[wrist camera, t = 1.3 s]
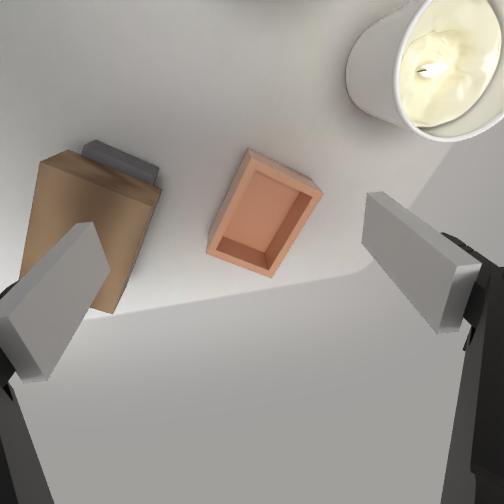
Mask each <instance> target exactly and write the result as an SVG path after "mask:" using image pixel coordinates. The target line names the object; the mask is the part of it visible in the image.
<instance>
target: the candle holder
mask: <svg viewBox="0 0 504 504" xmlns="http://www.w3.org/2000/svg"><path fill="white" fill-rule="evenodd" d="M346 86H347V90H348V93H349V95H350V98H351V99H352V101H353V102H354V104H355V105H356V106H357V107H358V108H359V109H361V110H362V111H364V112H365V113H367V114H369V115H372V116H374V117H376V118H379V119H381V120H384V121H386V122H388V123H391V124H393V125H396V126H398V127H401V128H403V129H406V130H408V131H411V132H413V133H416V134H417V135H419V136H421V137H423V138H425V139H428V140H431V141H435V142H457V141H461V140H465V139H468V138H471V137H474V136H476V135H478V134H480V133H482V132H484V131H486V130H488V129H489V128H491V127H492V126H494V125H495V124H496V123H498V122H499V121H500V120H501V119H503V118H504V0H413V1H411V2H409V3H408V4H406V5H404V6H402V7H401V8H399V9H397V10H395V11H394V12H392V13H390V14H388V15H387V16H385V17H383V18H381V19H380V20H378V21H377V22H375V23H374V24H372V25H371V26H370V27H369V28H367V29H366V30H365V31H364V32H363V33H362V35H361V36H360V37H359V38H358V40H357V41H356V43H355V44H354V46H353V48H352V50H351V53H350V55H349V58H348V62H347V66H346Z"/></svg>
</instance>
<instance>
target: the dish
mask: <svg viewBox="0 0 504 504" xmlns="http://www.w3.org/2000/svg"><path fill="white" fill-rule="evenodd" d="M323 194H324V193H323V192H322V191H321V190H320V188H319V187H318V186H317V185H316V184H315V183H314V182H313V180H312V179H310V178H308V177H306V176H304V175H302V174H300V173H298V172H296V171H294V170H292V169H290V168H288V167H286V166H284V165H282V164H280V163H278V162H276V161H274V160H272V159H270V158H268V157H266V156H264V155H262V154H260V153H258V152H256V151H254V150H252V149H250V148H248V149H247V151H246V153H245V155H244V158H243V160H242V162H241V164H240V166H239V168H238V170H237V173H236V175H235V177H234V179H233V181H232V183H231V185H230V188H229V190H228V192H227V194H226V196H225V198H224V200H223V203H222V205H221V207H220V209H219V211H218V213H217V215H216V218H215V220H214V222H213V224H212V226H211V228H210V230H209V233H208V239H207V248H206V254H209V255H212V256H214V257H217V258H219V259H222V260H225V261H227V262H230V263H233V264H235V265H238V266H241V267H243V268H246V269H248V270H251V271H254V272H256V273H259V274H262V275H264V276H267V277H269V278H272V277H273V276H274V274H275V272H276V271H277V269H278V267H279V266H280V264H281V262H282V261H283V259H284V258H285V256H286V254H287V253H288V251H289V249H290V248H291V246H292V244H293V243H294V241H295V240H296V238H297V236H298V235H299V233H300V231H301V230H302V228H303V226H304V225H305V223H306V221H307V220H308V218H309V217H310V215H311V213H312V212H313V210H314V208H315V207H316V205H317V203H318V202H319V200H320V199H321V197H322V195H323Z"/></svg>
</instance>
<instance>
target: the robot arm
mask: <svg viewBox="0 0 504 504" xmlns="http://www.w3.org/2000/svg"><path fill="white" fill-rule="evenodd" d="M362 244H363V246H364V247H365V248H366V249H367V250H368V252H369V253H370V254H371V255H372V256H373V258H374V259H375V260H376V261H377V262H378V264H379V265H380V266H381V267H382V268H383V270H384V271H385V272H386V273H387V275H388V276H389V277H390V278H391V279H392V280H393V282H394V283H395V284H396V285H397V287H398V288H399V289H400V290H401V291H402V292H403V294H404V295H405V296H406V297H407V299H408V300H409V301H410V302H411V303H412V305H413V306H414V307H415V308H416V309H417V311H418V312H419V313H420V314H421V316H422V317H423V318H424V319H425V320H426V322H427V323H428V324H429V325H430V326H431V328H432V329H433V330H434V331H435V332H436V334H441V333H449V332H458V331H459V329H460V326H461V323H462V320H463V317H464V318H465V319H466V320H467V321H468V322H469V323H470V324H471V325H472V326H471V329H470V331H469V334H468V337H467V340H466V342H465V345H464V348H463V350H464V351H466V352H465V358H464V365H463V370H462V377H461V383H460V389H459V395H458V401H457V407H456V413H455V419H454V425H453V431H452V437H451V443H450V449H449V455H448V462H447V467H446V473H445V480H444V486H443V492H442V498H441V504H504V267H498V266H497V265H495V264H494V263H492V262H491V261H489V260H488V259H487V258H485V257H483V256H482V255H481V254H479V253H478V252H476V251H474V249H472V248H471V247H469V246H466V244H465V243H463V242H462V241H461V240H459V239H458V238H456V237H453V236H451V235H448V234H446V233H443V232H442V233H439V232H438V231H437V230H435V229H434V228H432V227H431V226H430V225H428V224H427V223H425V222H424V221H423V220H421V219H420V218H419V217H417V216H416V215H414V214H413V213H412V212H410V211H409V210H408V209H406V208H405V207H403V206H402V205H401V204H399V203H398V202H396V201H395V200H394V199H392V198H391V197H390V196H388V195H387V194H385V193H384V192H373V193H367V199H366V208H365V217H364V226H363V235H362ZM110 271H111V270H110V267H109V264H108V262H107V259H106V256H105V254H104V251H103V248H102V245H101V243H100V240H99V237H98V234H97V232H96V229H95V226H94V223H93V222H85V223H76V224H75V225H74V226H73V227H72V228H71V229H70V230H69V231H68V232H67V233H66V234H65V235H64V236H63V237H62V238H61V239H60V240H59V241H58V242H57V243H56V244H55V245H54V246H53V247H52V248H51V249H50V250H49V251H48V252H47V253H46V254H45V255H44V256H43V257H42V258H41V259H40V260H39V261H38V262H37V263H36V264H35V265H34V266H33V267H32V268H31V269H30V270H29V271H28V272H27V273H26V274H25V275H24V276H23V278H22V279H20V280H18V281H17V282H15V283H14V284H12V285H10V286H9V287H7V288H6V289H5V290H4V291H3V292H2V293H1V294H0V504H54V501H53V499H52V496H51V493H50V490H49V487H48V485H47V482H46V479H45V476H44V473H43V471H42V468H41V465H40V462H39V459H38V457H37V454H36V451H35V448H34V446H33V443H32V440H31V437H30V434H29V432H28V429H27V426H26V423H25V420H24V418H23V415H22V412H21V409H20V406H19V404H18V401H17V398H16V395H15V393H14V390H13V388H12V386H11V385H10V384H9V382H8V381H9V379H10V378H11V376H12V375H13V374H14V372H15V371H16V373H17V374H18V376H19V377H20V379H21V380H22V382H23V383H30V382H39V381H47V380H48V379H49V377H50V375H51V373H52V372H53V370H54V368H55V366H56V365H57V363H58V361H59V359H60V358H61V356H62V354H63V353H64V351H65V349H66V347H67V346H68V344H69V342H70V340H71V339H72V337H73V335H74V333H75V332H76V330H77V328H78V327H79V325H80V323H81V321H82V320H83V318H84V316H85V314H86V313H87V311H88V309H89V307H90V306H91V304H92V302H93V300H94V299H95V297H96V295H97V294H98V292H99V290H100V288H101V287H102V285H103V283H104V281H105V280H106V278H107V276H108V274H109V273H110Z"/></svg>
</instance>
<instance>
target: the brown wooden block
mask: <svg viewBox="0 0 504 504" xmlns="http://www.w3.org/2000/svg"><path fill="white" fill-rule="evenodd" d="M161 191H162V189H160V188H158V187H155V186H153V185H151V184H148V183H146V182H144V181H141V180H139V179H136V178H134V177H132V176H129V175H127V174H125V173H122V172H120V171H118V170H115V169H113V168H110V167H108V166H106V165H103V164H101V163H99V162H96V161H94V160H92V159H89V158H87V157H84V156H82V155H80V154H77V153H75V152H73V151H70V150H66V151H64V152H61V153H59V154H57V155H55V156H52V157H50V158H48V159H45V160H43V161H41V162H40V165H39V170H38V176H37V181H36V187H35V193H34V198H33V204H32V209H31V215H30V220H29V226H28V231H27V237H26V242H25V248H24V254H23V259H22V265H21V270H20V276H19V280H20V279H22V278H23V276H24V275H25V274H26V273H27V272H28V271H29V270H30V269H31V268H32V267H33V266H34V265H35V264H36V263H37V262H38V261H39V260H40V259H41V258H42V257H43V256H44V255H45V254H46V253H47V252H48V251H49V250H50V249H51V248H52V247H53V246H54V245H55V244H56V243H57V242H58V241H59V240H60V239H61V238H62V237H63V236H64V235H65V234H66V233H67V232H68V231H69V230H70V229H71V228H72V227H73V226H74V225H75V224H76V223H85V222H93V223H94V226H95V229H96V232H97V234H98V237H99V240H100V243H101V245H102V248H103V251H104V254H105V256H106V259H107V262H108V264H109V267H110V270H111V271H110V273H109V274H108V276H107V278H106V280H105V281H104V283H103V285H102V287H101V288H100V290H99V292H98V294H97V295H96V297H95V299H94V300H93V302H92V304H91V306H90V308H93V309H97V310H100V311H103V312H107V313H110V314H113V313H114V311H115V309H116V307H117V305H118V303H119V300H120V298H121V296H122V294H123V292H124V290H125V288H126V286H127V283H128V280H129V278H130V275H131V272H132V270H133V267H134V264H135V261H136V259H137V256H138V253H139V251H140V248H141V245H142V242H143V240H144V237H145V234H146V232H147V229H148V226H149V223H150V221H151V218H152V215H153V213H154V210H155V207H156V204H157V202H158V199H159V196H160V194H161Z"/></svg>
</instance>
